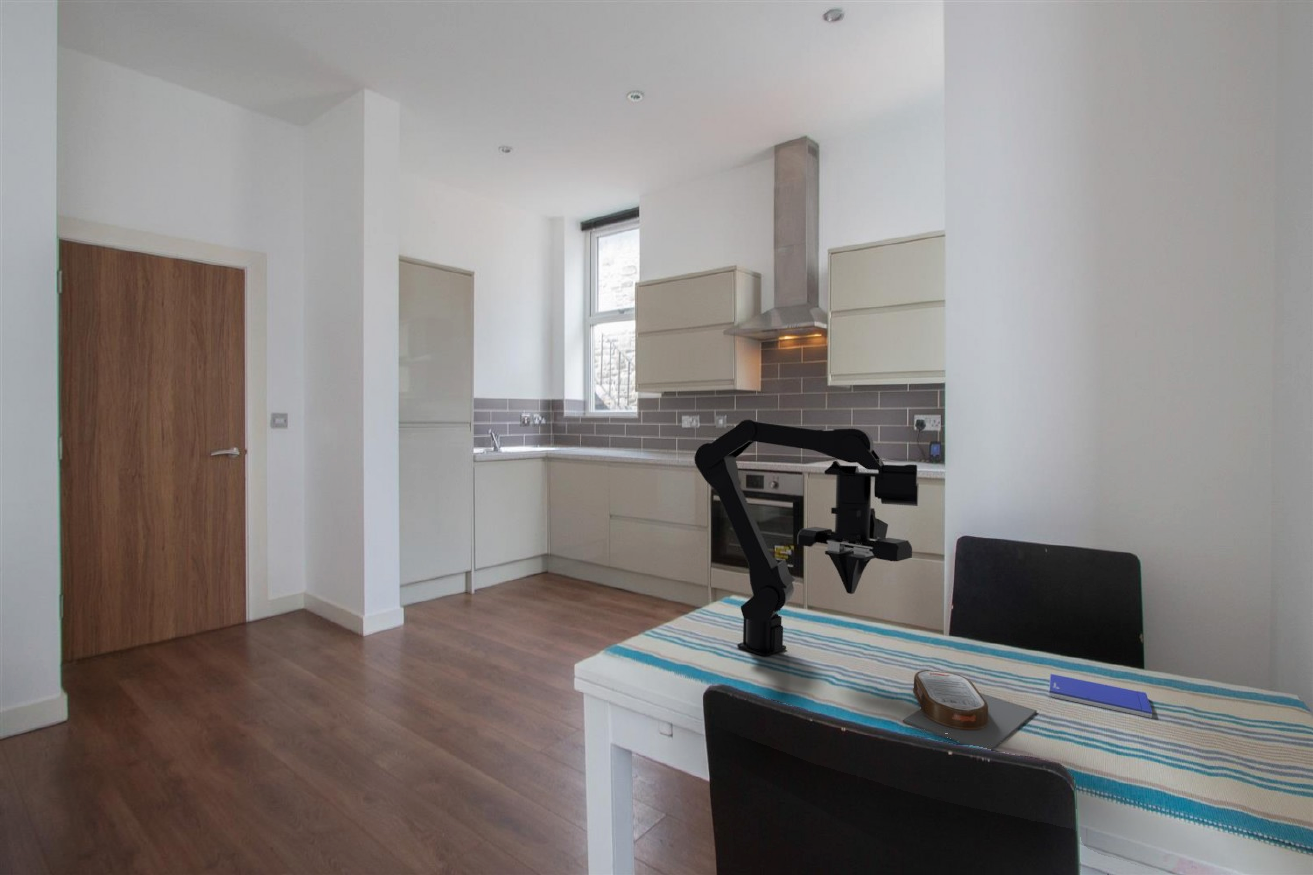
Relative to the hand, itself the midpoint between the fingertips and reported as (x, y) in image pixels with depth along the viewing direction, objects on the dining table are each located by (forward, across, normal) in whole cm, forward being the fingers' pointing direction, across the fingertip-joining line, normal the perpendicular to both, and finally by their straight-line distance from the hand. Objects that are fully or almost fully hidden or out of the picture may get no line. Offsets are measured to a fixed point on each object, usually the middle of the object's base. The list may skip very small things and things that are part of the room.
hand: (850, 593), depth 107 cm
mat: (+12, -22, +5) cm, 26 cm away
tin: (+10, -15, +7) cm, 20 cm away
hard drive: (+13, -32, -18) cm, 38 cm away
